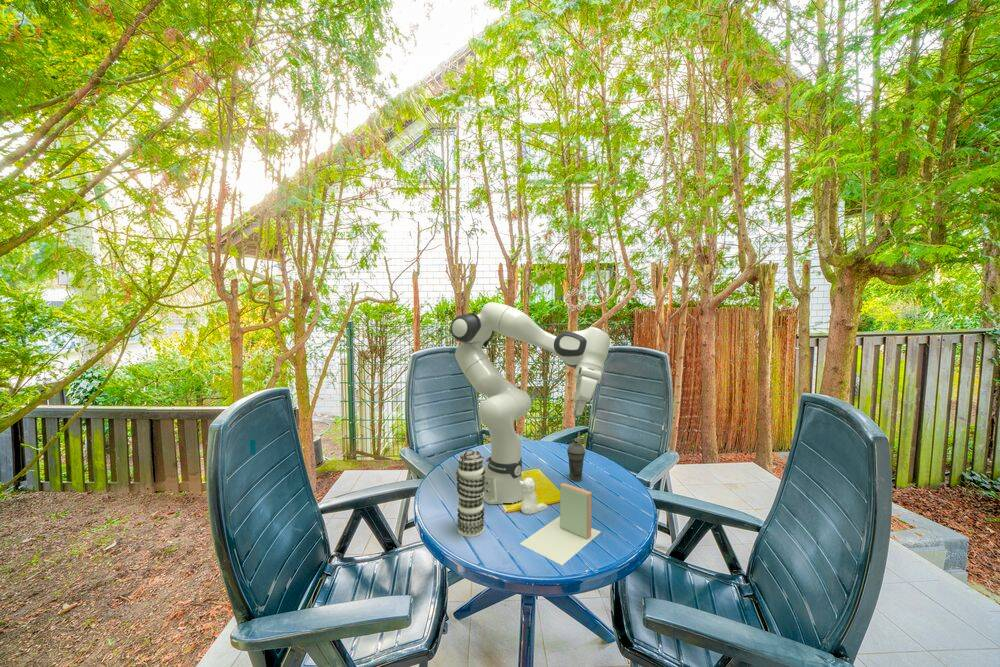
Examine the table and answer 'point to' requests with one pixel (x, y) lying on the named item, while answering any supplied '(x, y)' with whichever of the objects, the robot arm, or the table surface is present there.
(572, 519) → the tile
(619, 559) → the table surface
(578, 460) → the beverage cup
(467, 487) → the stacked ring tower
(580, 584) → the table surface
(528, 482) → the seated beast figurine
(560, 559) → the mat
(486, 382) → the robot arm
